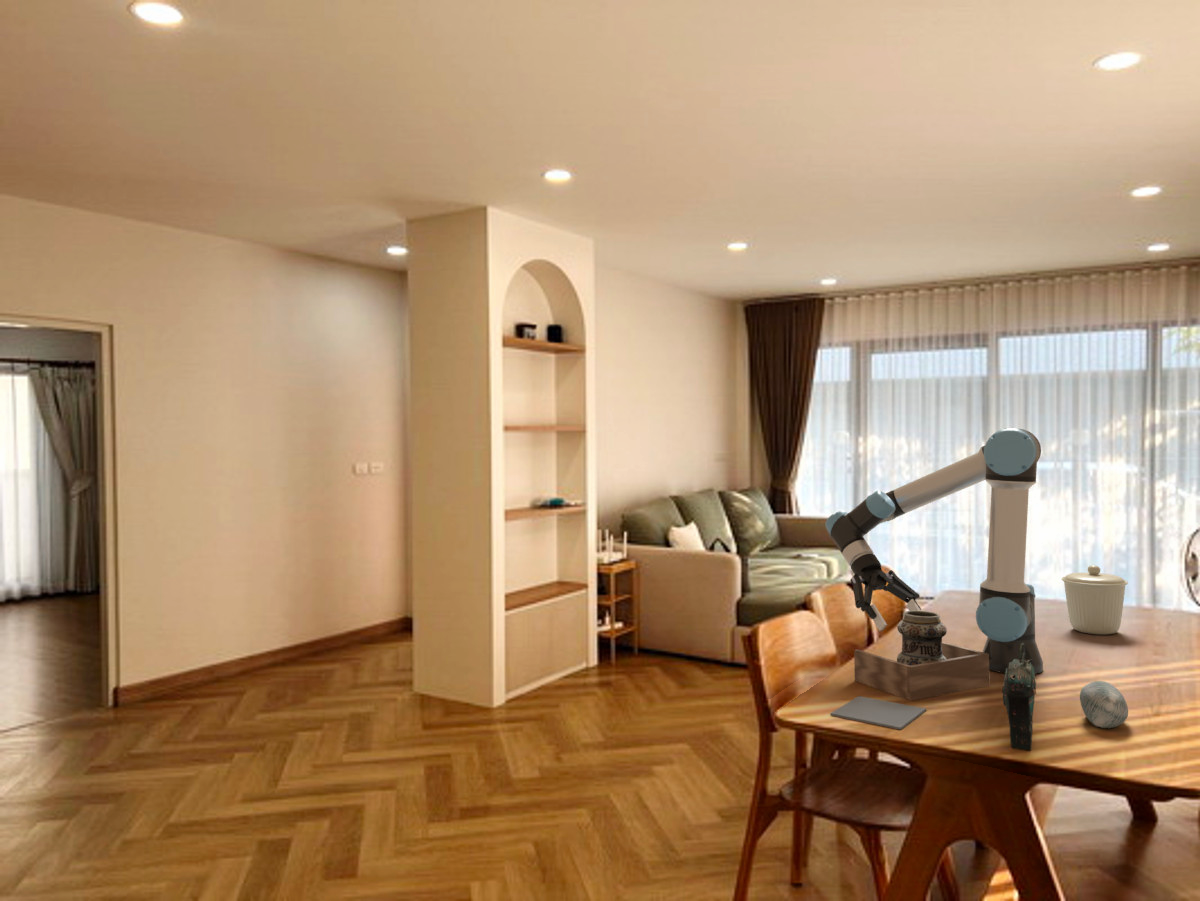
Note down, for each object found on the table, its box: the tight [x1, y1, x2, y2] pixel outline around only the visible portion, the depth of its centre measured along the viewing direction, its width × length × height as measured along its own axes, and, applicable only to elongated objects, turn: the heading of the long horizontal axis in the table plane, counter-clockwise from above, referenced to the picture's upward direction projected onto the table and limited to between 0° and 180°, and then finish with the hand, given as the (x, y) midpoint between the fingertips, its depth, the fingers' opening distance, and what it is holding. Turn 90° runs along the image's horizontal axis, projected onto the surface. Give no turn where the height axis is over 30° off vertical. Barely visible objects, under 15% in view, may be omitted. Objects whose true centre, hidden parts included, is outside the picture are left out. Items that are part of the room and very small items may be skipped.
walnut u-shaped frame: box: [853, 641, 990, 702], centre depth 212 cm, size 19×26×8 cm
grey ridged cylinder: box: [1079, 680, 1129, 729], centre depth 181 cm, size 14×10×10 cm
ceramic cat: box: [1001, 643, 1037, 752], centre depth 173 cm, size 20×6×20 cm, turn 151°
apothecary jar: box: [896, 610, 948, 666], centre depth 212 cm, size 12×12×18 cm
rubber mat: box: [830, 695, 927, 730], centre depth 190 cm, size 16×16×1 cm
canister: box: [1061, 564, 1129, 636], centre depth 265 cm, size 18×18×21 cm
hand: (903, 625), depth 216 cm, fingers open, 13 cm apart
